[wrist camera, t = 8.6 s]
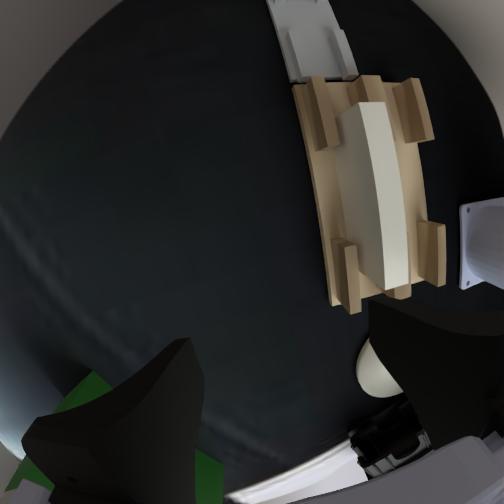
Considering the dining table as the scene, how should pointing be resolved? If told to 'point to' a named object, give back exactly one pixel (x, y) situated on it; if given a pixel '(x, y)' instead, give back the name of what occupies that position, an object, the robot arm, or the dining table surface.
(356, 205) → the white curved panel
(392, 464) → the end cap
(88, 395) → the hardback book
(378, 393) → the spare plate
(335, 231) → the dish rack
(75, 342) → the dining table surface
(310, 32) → the plate stand
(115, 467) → the robot arm
